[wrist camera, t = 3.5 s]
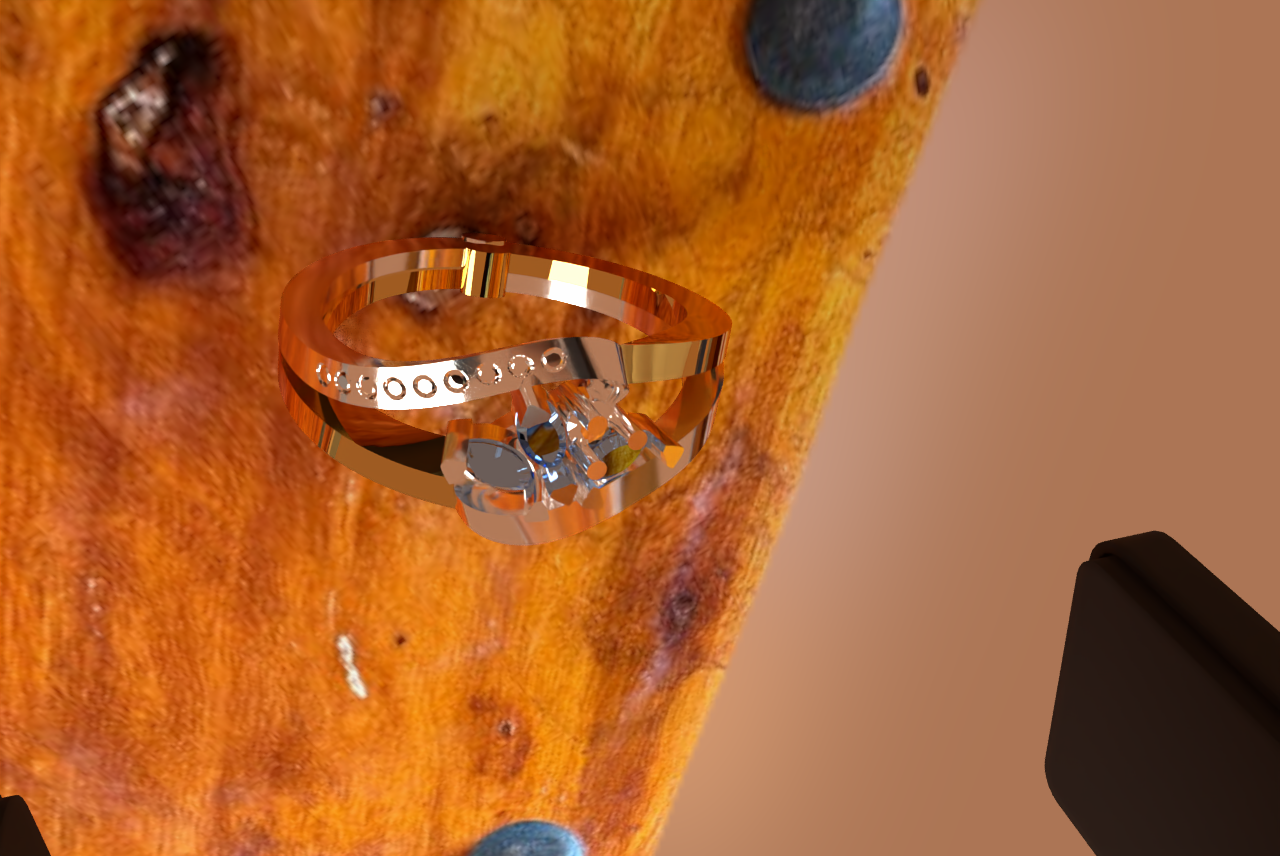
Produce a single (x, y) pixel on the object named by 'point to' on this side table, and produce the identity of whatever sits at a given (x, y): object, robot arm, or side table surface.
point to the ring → (505, 385)
